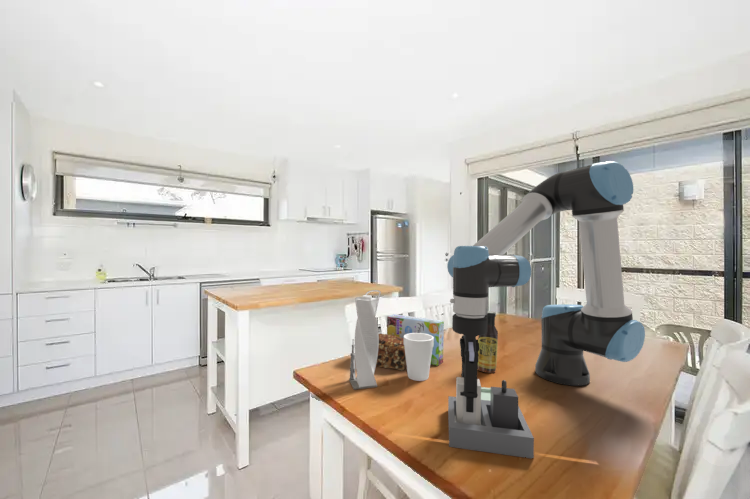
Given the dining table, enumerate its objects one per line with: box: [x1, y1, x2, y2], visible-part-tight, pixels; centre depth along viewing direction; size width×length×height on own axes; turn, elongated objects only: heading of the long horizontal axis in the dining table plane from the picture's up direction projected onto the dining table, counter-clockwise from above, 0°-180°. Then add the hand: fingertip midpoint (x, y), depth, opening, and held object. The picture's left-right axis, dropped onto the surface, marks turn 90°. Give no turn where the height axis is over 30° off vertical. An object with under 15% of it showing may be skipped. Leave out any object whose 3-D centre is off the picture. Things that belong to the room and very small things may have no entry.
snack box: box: [386, 313, 445, 367], centre depth 117 cm, size 21×6×15 cm, turn 58°
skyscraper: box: [348, 289, 382, 390], centre depth 94 cm, size 8×8×28 cm
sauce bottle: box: [477, 310, 499, 374], centre depth 106 cm, size 7×6×20 cm
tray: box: [481, 386, 491, 401], centre depth 84 cm, size 10×13×1 cm
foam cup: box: [404, 333, 434, 382], centre depth 99 cm, size 10×9×13 cm
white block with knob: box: [455, 376, 482, 425], centre depth 70 cm, size 5×4×12 cm
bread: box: [376, 333, 407, 371], centre depth 112 cm, size 19×11×10 cm, turn 65°
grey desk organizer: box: [447, 379, 535, 459], centre depth 70 cm, size 16×14×12 cm
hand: (468, 418), depth 70 cm, fingers closed on white block with knob, 4 cm apart
